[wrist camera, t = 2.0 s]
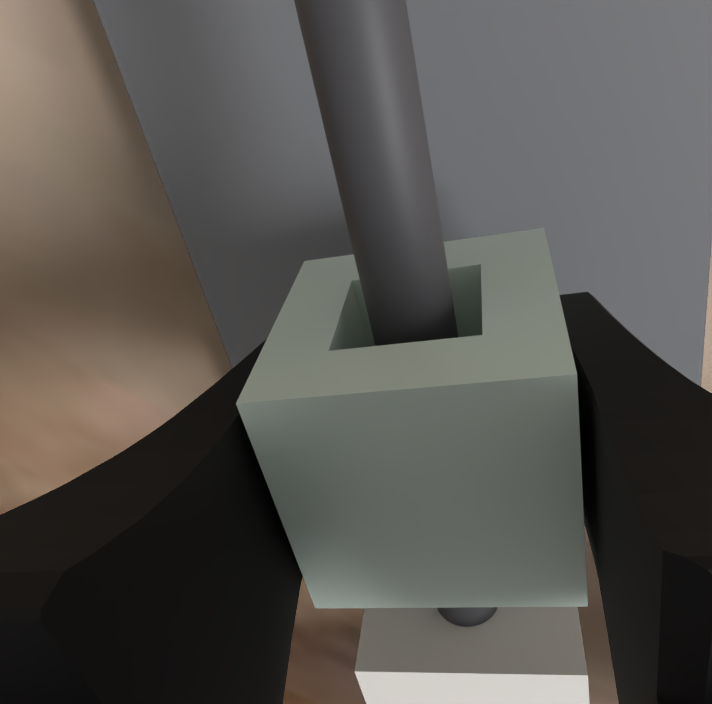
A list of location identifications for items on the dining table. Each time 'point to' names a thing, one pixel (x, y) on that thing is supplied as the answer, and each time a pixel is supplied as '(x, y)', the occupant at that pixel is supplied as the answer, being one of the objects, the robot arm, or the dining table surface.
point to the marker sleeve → (427, 439)
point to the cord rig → (436, 207)
